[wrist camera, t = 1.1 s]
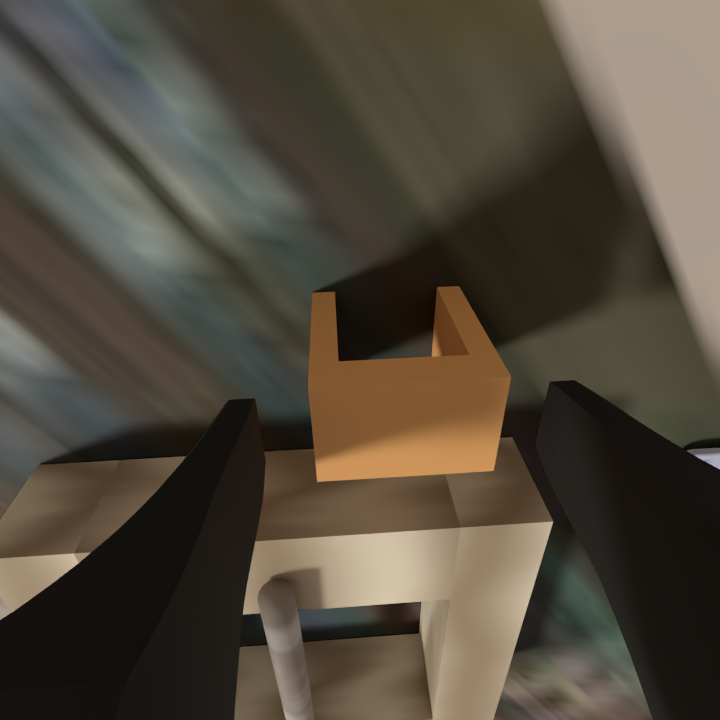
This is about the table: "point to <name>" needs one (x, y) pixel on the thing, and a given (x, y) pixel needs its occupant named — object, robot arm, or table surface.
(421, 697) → the rectangular frame
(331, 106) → the table surface
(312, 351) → the bracket
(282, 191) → the table surface
